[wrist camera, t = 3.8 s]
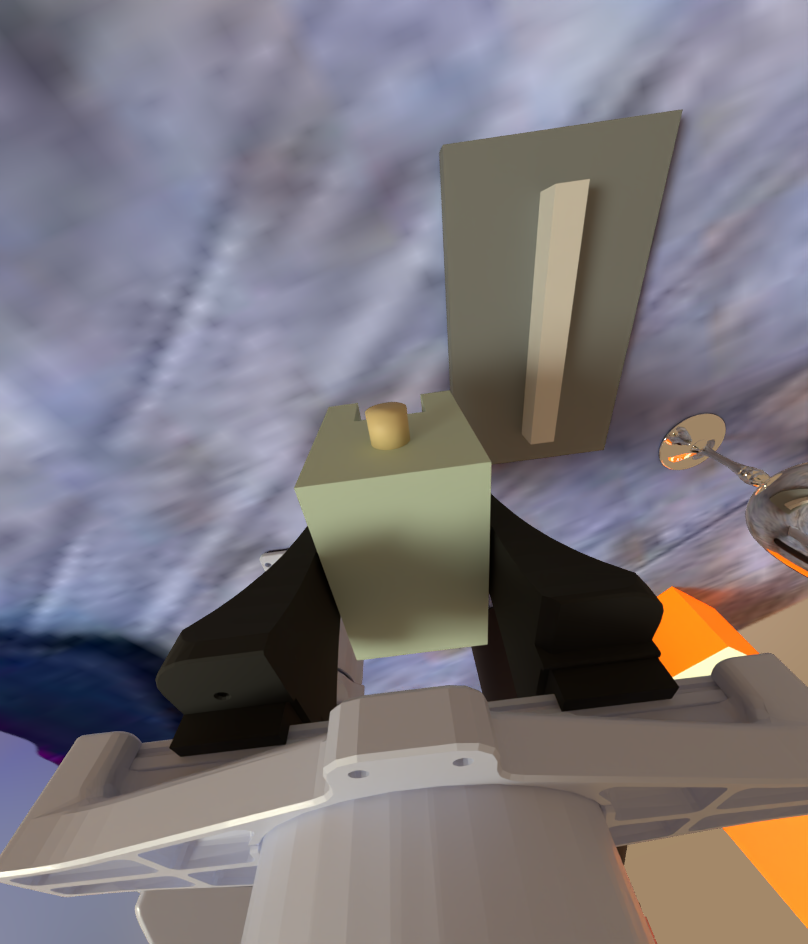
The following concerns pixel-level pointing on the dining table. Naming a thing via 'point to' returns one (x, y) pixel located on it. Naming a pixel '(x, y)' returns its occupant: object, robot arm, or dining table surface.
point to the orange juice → (695, 654)
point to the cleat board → (548, 276)
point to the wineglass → (774, 501)
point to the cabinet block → (402, 525)
